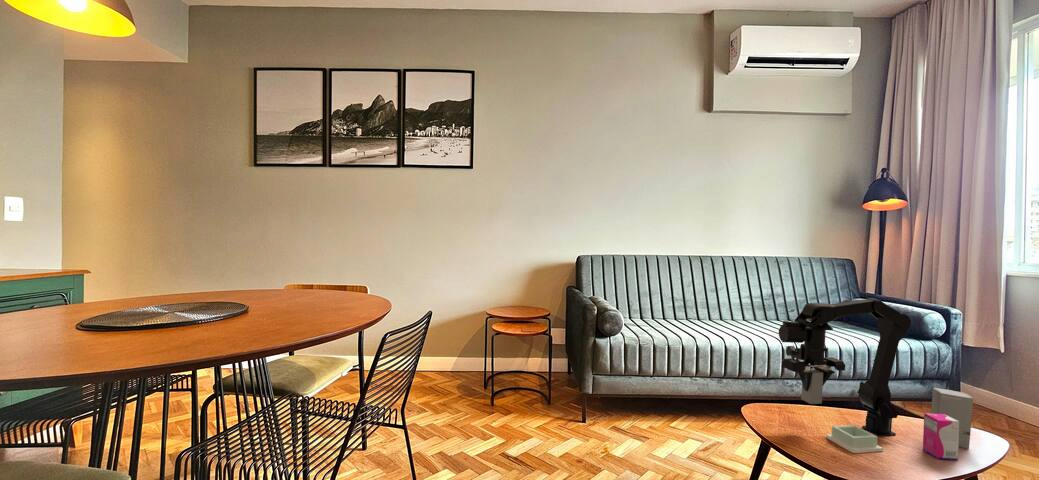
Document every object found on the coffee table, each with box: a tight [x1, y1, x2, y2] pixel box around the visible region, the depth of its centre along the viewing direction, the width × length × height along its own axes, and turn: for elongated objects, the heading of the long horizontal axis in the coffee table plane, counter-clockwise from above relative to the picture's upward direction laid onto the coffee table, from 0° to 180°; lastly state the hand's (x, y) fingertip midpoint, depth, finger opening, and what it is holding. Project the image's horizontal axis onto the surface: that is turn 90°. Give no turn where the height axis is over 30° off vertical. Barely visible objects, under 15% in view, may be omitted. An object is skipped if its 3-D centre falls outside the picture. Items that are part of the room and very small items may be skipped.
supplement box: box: [922, 412, 959, 461], centre depth 139 cm, size 6×6×12 cm
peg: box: [801, 368, 824, 405], centre depth 154 cm, size 4×4×10 cm
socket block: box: [825, 424, 884, 454], centre depth 145 cm, size 10×10×4 cm
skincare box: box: [930, 387, 974, 450], centre depth 148 cm, size 8×7×16 cm
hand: (812, 390), depth 154 cm, fingers closed on peg, 4 cm apart
